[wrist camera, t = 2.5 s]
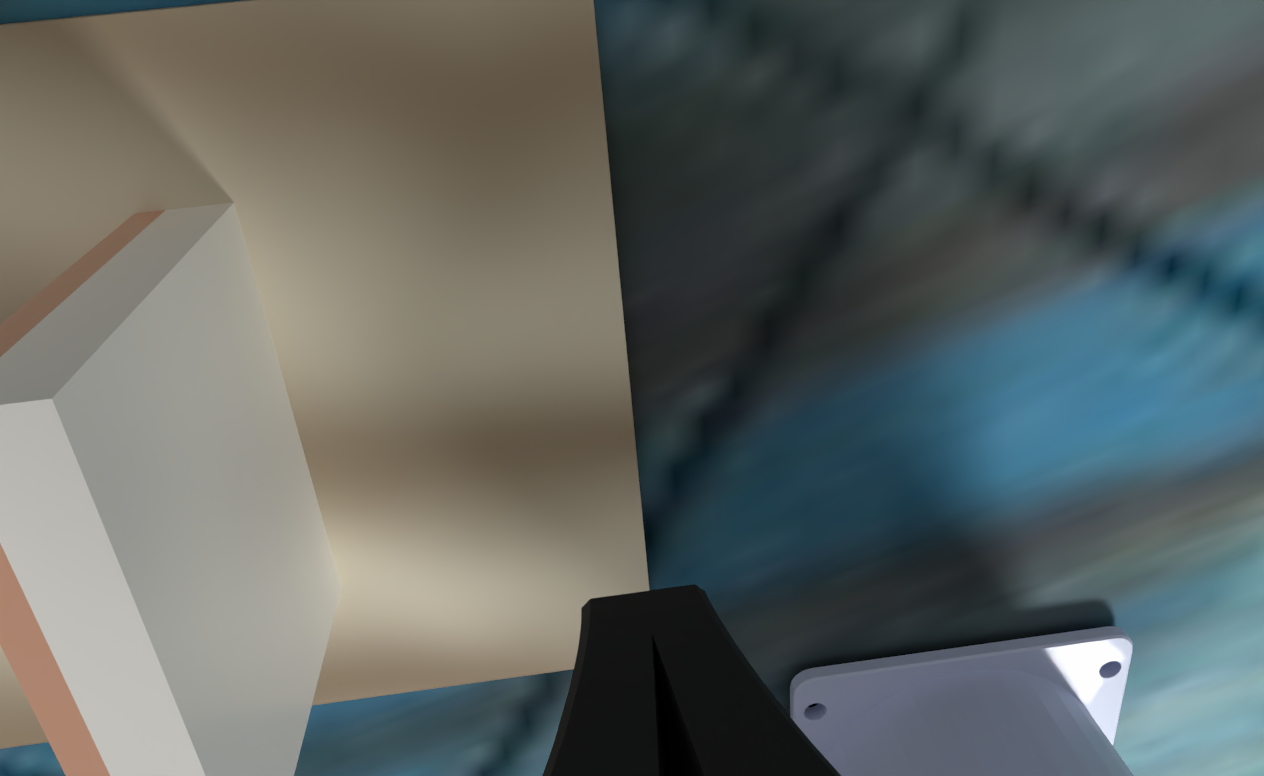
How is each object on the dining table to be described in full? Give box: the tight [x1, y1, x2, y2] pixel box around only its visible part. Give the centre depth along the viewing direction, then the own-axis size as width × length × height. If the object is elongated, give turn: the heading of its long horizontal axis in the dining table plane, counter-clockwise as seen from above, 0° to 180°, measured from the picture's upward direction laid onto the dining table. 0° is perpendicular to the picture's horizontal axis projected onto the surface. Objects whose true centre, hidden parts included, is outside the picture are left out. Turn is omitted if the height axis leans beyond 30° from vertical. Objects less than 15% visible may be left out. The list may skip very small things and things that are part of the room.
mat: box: [0, 0, 650, 749], centre depth 18 cm, size 14×18×1 cm
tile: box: [0, 203, 342, 776], centre depth 15 cm, size 8×2×7 cm, turn 5°
